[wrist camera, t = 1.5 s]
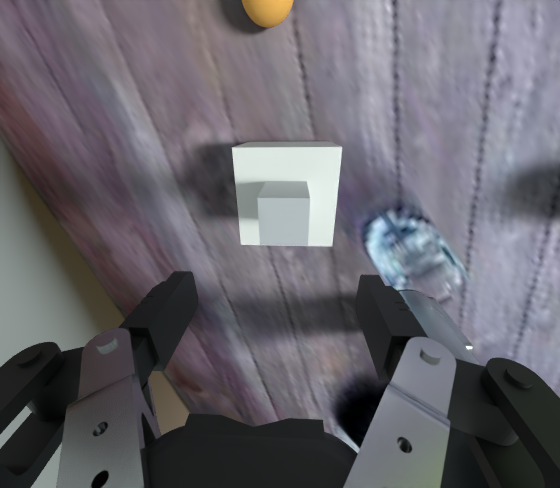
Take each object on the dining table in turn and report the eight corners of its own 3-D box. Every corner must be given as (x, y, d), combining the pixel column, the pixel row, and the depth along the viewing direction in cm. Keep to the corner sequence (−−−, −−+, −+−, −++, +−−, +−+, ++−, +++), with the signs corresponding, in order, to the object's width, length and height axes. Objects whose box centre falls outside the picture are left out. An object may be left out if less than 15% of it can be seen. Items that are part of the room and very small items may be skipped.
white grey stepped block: (329, 141, 29) (358, 154, 16) (323, 218, 34) (341, 277, 21) (248, 141, 30) (211, 154, 17) (253, 217, 34) (227, 274, 21)
